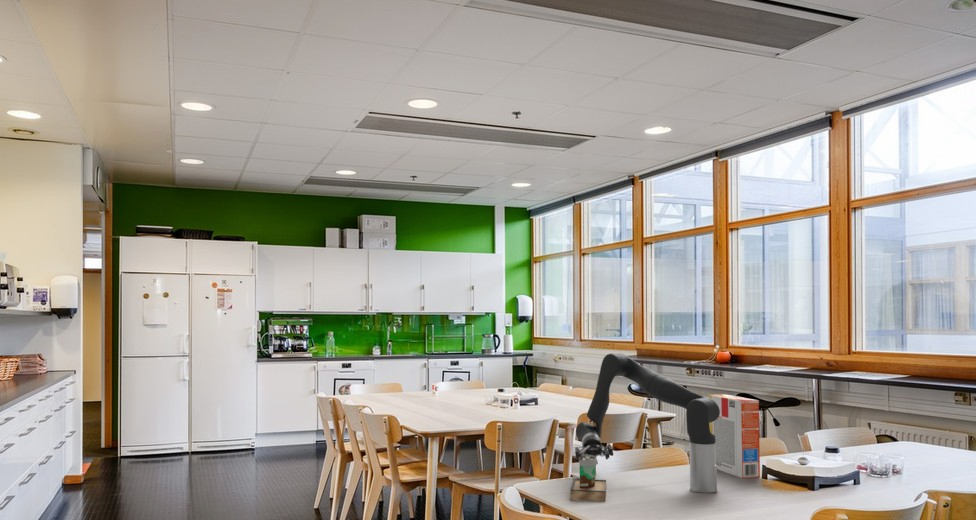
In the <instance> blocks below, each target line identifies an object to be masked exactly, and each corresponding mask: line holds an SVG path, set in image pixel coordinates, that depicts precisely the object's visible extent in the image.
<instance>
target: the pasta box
mask: <svg viewBox="0 0 976 520" xmlns="http://www.w3.org/2000/svg"><path fill="white" fill-rule="evenodd" d="M708 398H710V399H712V400H714V401H715V402H716V403H717V405H718V407H719V410H720V415H719V417H718V418H717V419H716V420H715V421H713V422H710V423H709V427H710V432H711V433H712V434H714V435H715V439H716V465H717V471H721V472H724V473H727V474H730V475H733V476H735V477H738V478H741V479H749V478H760V477H761V463H760V461H761V460H760V459H761V457H760V456H761V455H760V452H761V450H760V407H759V405H760V400H758V399H752V398H747V397H742V396H737V395H730V394H721V393H719V394H708Z"/></svg>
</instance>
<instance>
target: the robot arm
mask: <svg viewBox="0 0 976 520" xmlns="http://www.w3.org/2000/svg"><path fill="white" fill-rule="evenodd" d="M615 377H623V378H626V379H628V380H631V381H633V382H634V383H636V384H637V385H638V386H639V387H640V389H642V391H643V392H644V393H645V394H647V395H648V396H651V397H652V398H654V399H655V400H657V401H660V402H662V403H666V404H669V405H672V406H676V407H680V408H684V409H685V411H686V414H685V416H686V432H687V435H688V438H689V489H690V491H692V492H695V493H703V494H704V493H706V494H708V493H709V494H710V493H718V469H717V465H716V439H715V435H714V434H712V433H711V432H710V427H709V423H710V422H713V421H715V420H716V419H717V418H718V417H719V415H720V410H719V407H718V405H717V403H716V402H715V401H714V400H712V399H710V398H709V396H705V395H703V394H699V393H697V392H694V391H692V390H691V389H688V388H687V387H684V386H683V385H682V384H679V383H677V382H676V381H674V380H672V379H670V378H668V377H667V376H665V375H663V374H661V373H658V372H656V371H654V370H652V369H650V368H648V367H645V366H643V365H642V364H640V363H639V362H637V361H635V360H634V359H632V358H631V357H629V356H628V355H626V354H624V353H608V354H606V355H605V356H603V359H602V361H601V365H600V370H599V373H598V378H597V384H596V387H595V390H594V391H595V392H594V395H593V398H592V400H591V402H590V405H589V407H588V409H587V413H586V416H587V418H588V419H589V420H590V421H591V422H593V423H594V424H595V425H594V424H592V423H589V422H586V421H582V422H578V424H577V426H576V428H575V435H576V438H577V439H578V440H579V441H580V442H581V447H582V448H579V447H578V446H577V447H575V450H574V454H575V459H579V458H580V459H581V458H582V454H587V455H593V456H595V457H596V458H597V457H604V458H605V460H609V459H610V456H614V448H613V447H612V445H611V444H608V445H606V446H604V445H603V444H602V440H601V439H602V438H601V437H602V430H603V429H602V428H603V423H604V419H605V416H606V413H607V411H608V408H609V405H610V388H611V385H612V382H613V380H614V379H615Z"/></svg>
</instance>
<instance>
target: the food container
mask: <svg viewBox="0 0 976 520" xmlns="http://www.w3.org/2000/svg"><path fill="white" fill-rule="evenodd" d="M578 464H579V465H578V466H579V479H580V488H592V487H594V486H595V480H596V471H597V465H598V464H599V462H598V458H597V457H595V456H593V455H587V454H582V458H580V459H579V463H578Z"/></svg>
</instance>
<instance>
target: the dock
mask: <svg viewBox="0 0 976 520" xmlns="http://www.w3.org/2000/svg"><path fill="white" fill-rule="evenodd" d="M606 498H607V479H595V486H594V487H592V488H580V478H573V479H572V482H571V486H570V501H589V502H591V501H593V502H606V501H607V499H606Z"/></svg>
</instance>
